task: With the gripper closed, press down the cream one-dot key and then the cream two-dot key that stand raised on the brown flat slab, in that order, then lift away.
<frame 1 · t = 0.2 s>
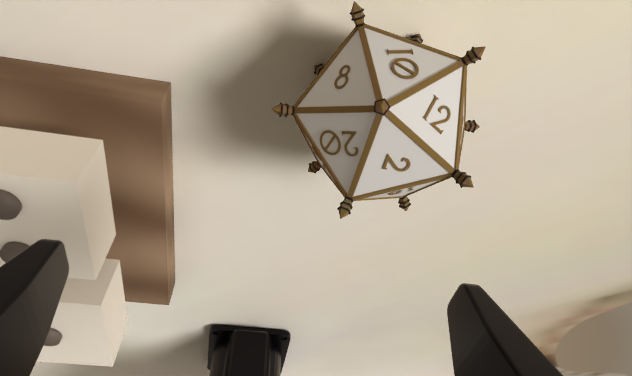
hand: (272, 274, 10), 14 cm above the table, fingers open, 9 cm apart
game die: (372, 75, 23), on the table
brown flat slab: (87, 190, 27), on the table
tile two: (27, 206, 20), point 6 cm above the table, slide at 2.0 cm
tile one: (58, 312, 25), point 6 cm above the table, slide at 2.0 cm
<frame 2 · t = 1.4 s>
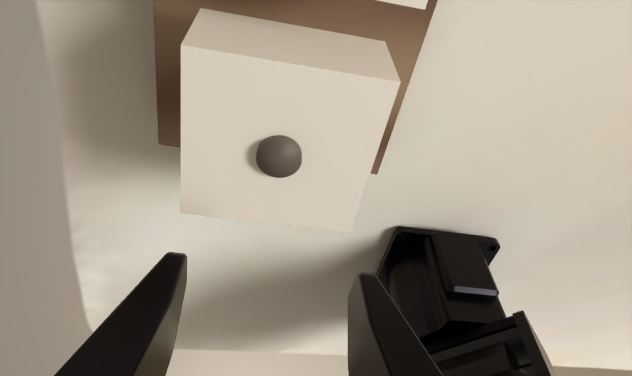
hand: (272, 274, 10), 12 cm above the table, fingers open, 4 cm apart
tile one: (280, 131, 15), point 6 cm above the table, slide at 2.0 cm
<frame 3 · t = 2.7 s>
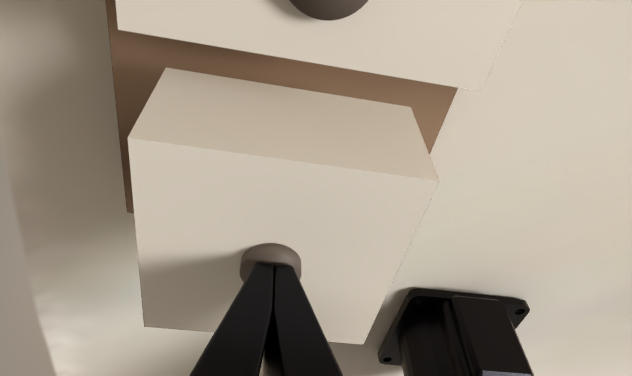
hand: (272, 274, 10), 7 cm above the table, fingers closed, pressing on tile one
tile one: (273, 223, 11), point 6 cm above the table, slide at 2.0 cm, touching gripper
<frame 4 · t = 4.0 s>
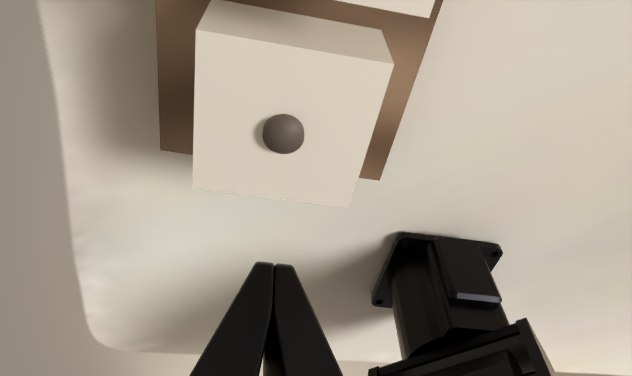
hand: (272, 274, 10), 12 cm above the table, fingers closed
tile one: (284, 112, 16), point 4 cm above the table, slide at 0.3 cm
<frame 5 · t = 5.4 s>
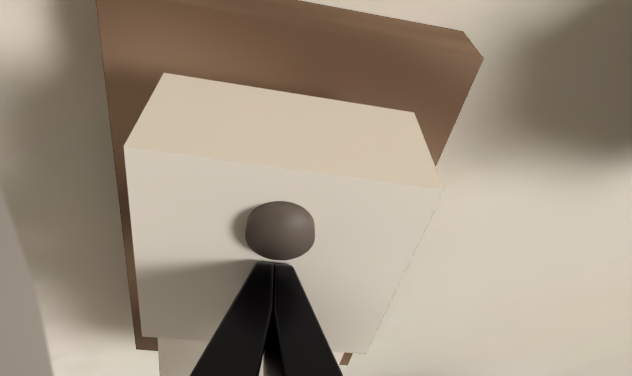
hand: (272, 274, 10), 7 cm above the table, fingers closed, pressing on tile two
brown flat slab: (267, 205, 18), on the table
tile two: (274, 231, 11), point 5 cm above the table, slide at 1.6 cm, touching gripper
tile one: (249, 353, 17), point 4 cm above the table, slide at 0.3 cm
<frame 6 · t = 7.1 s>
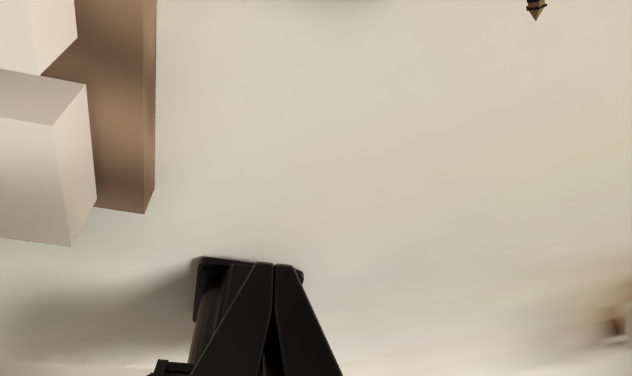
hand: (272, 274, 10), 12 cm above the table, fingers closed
brown flat slab: (27, 18, 18), on the table
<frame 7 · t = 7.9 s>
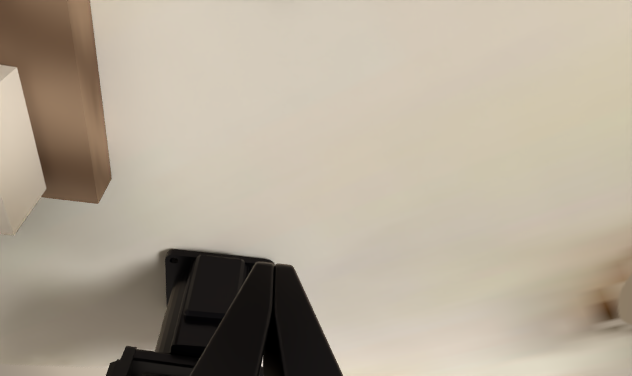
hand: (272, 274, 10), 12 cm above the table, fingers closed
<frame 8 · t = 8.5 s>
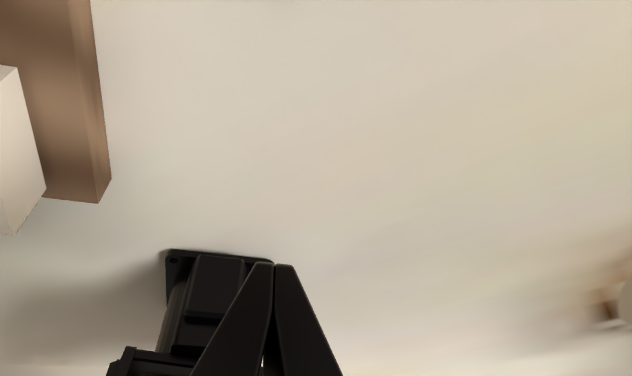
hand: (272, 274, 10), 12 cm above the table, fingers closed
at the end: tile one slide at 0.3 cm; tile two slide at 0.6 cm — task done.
